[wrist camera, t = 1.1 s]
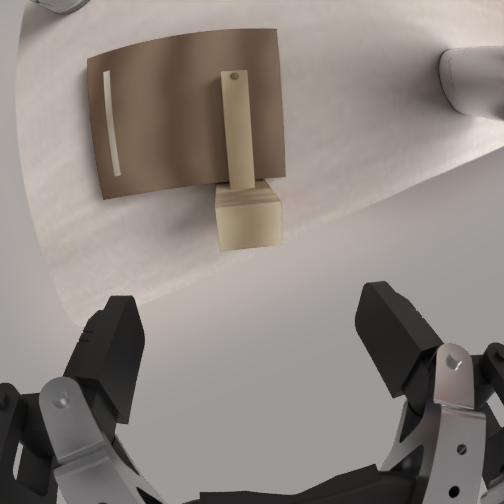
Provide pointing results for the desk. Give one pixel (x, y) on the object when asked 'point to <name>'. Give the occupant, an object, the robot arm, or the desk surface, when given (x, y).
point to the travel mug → (61, 5)
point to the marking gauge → (243, 178)
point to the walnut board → (181, 110)
